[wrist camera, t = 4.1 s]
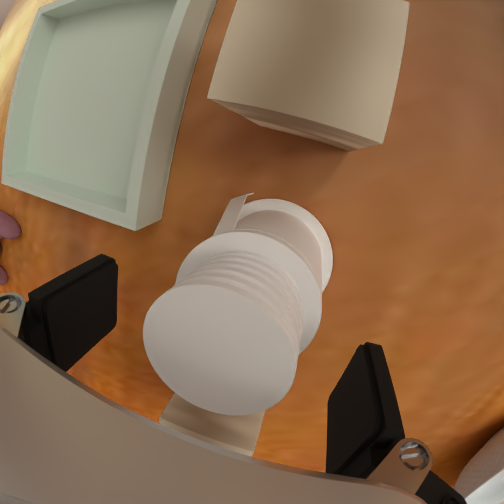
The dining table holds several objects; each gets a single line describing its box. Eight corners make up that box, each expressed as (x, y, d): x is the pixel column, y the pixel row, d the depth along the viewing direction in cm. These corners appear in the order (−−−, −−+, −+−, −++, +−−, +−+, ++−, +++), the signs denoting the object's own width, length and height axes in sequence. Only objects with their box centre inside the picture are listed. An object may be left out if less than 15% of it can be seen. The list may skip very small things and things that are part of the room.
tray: (220, -10, 12) (204, -32, 9) (161, 219, 18) (135, 231, 15) (61, 15, 14) (39, 8, 11) (26, 178, 20) (1, 183, 17)
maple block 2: (369, 69, 12) (409, 3, 5) (349, 151, 14) (382, 144, 7) (281, 46, 13) (249, -32, 6) (259, 126, 15) (206, 98, 7)
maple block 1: (278, 358, 19) (253, 452, 12) (259, 401, 21) (234, 484, 13) (210, 335, 20) (159, 417, 12) (200, 381, 21) (158, 456, 14)
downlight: (345, 305, 17) (357, 435, 7) (239, 327, 19) (174, 441, 9) (310, 174, 15) (295, 176, 6) (197, 210, 17) (76, 256, 8)
